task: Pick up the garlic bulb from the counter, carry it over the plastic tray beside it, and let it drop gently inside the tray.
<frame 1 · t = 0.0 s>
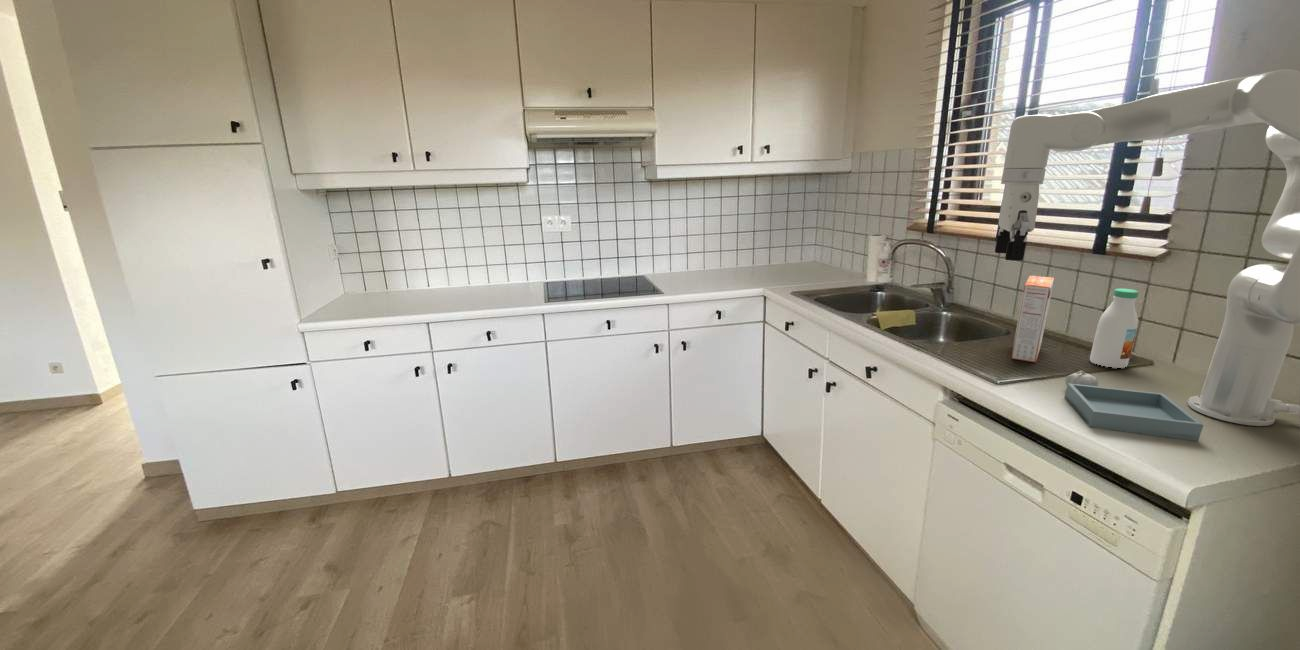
hand: (1008, 256, 118), 31 cm above the countertop, tool pointing down, fingers open, 9 cm apart
milk bottle: (1107, 364, 139), on the countertop
garlic: (1079, 392, 123), on the countertop
cracker box: (1024, 354, 147), on the countertop
tray: (1125, 417, 111), on the countertop
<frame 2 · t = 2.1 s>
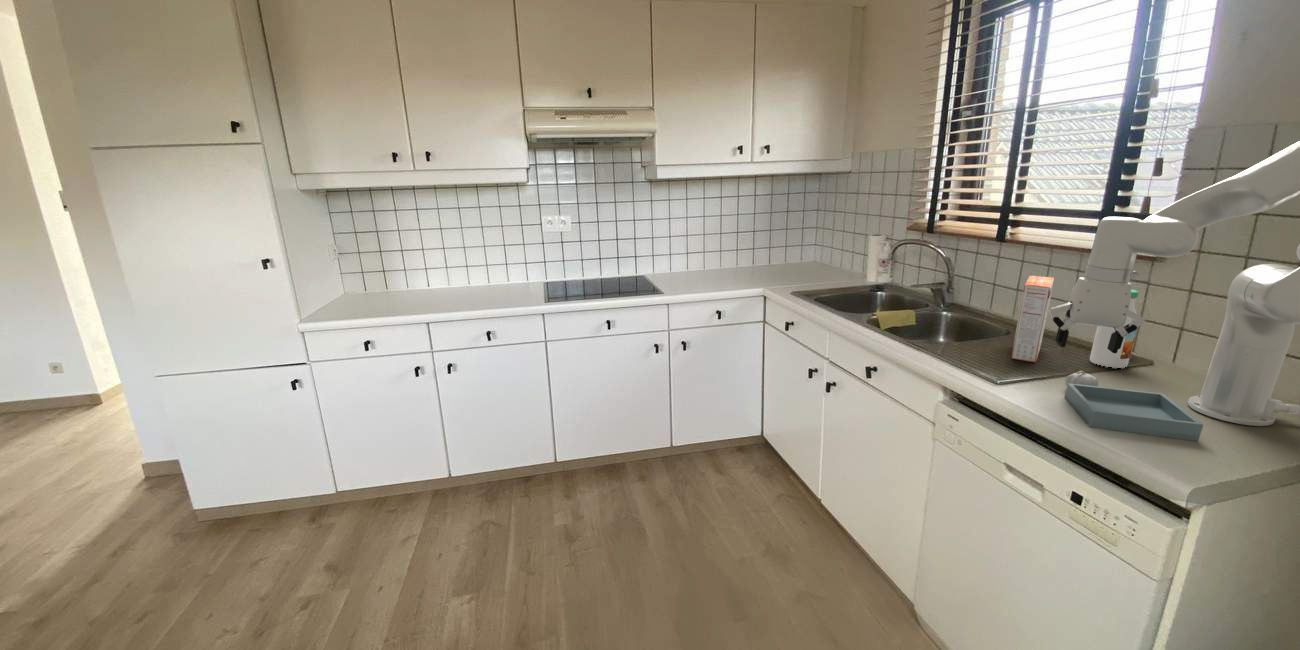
hand: (1085, 348, 121), 11 cm above the countertop, tool pointing down, fingers open, 9 cm apart
nothing on the countertop moved.
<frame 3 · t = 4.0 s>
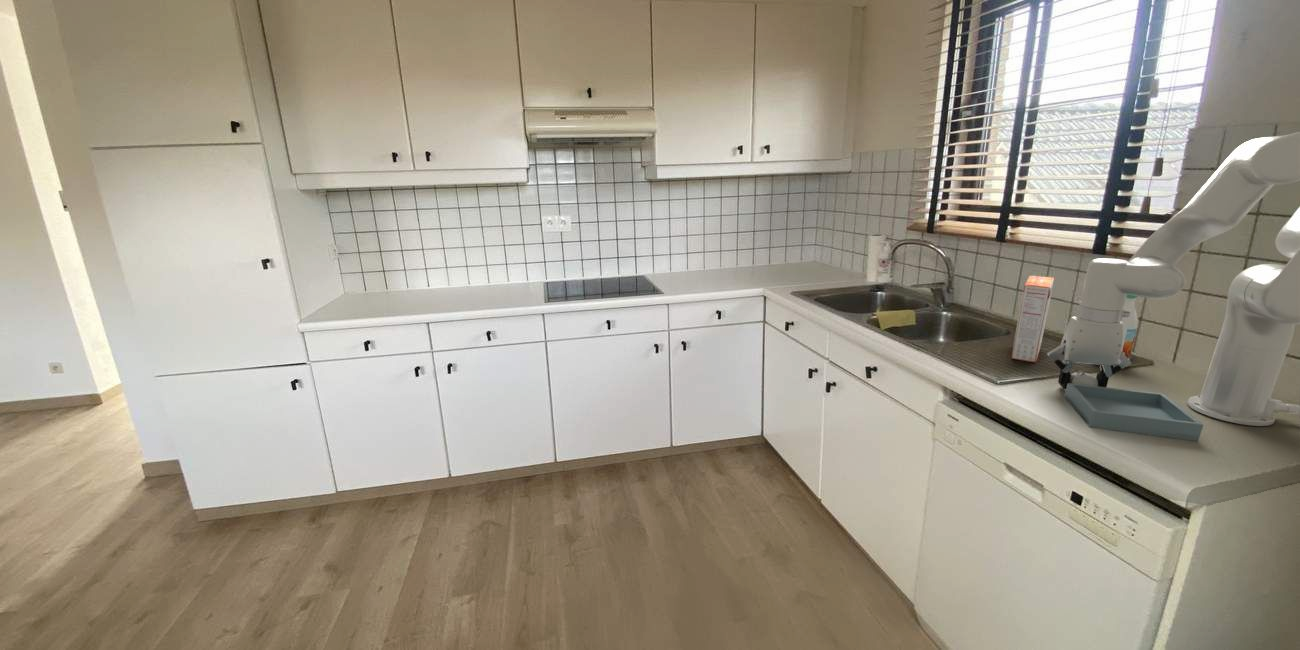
hand: (1080, 388, 123), 1 cm above the countertop, tool pointing down, fingers closed on garlic, 6 cm apart
garlic: (1079, 392, 123), on the countertop, touching gripper
everything else where it was.
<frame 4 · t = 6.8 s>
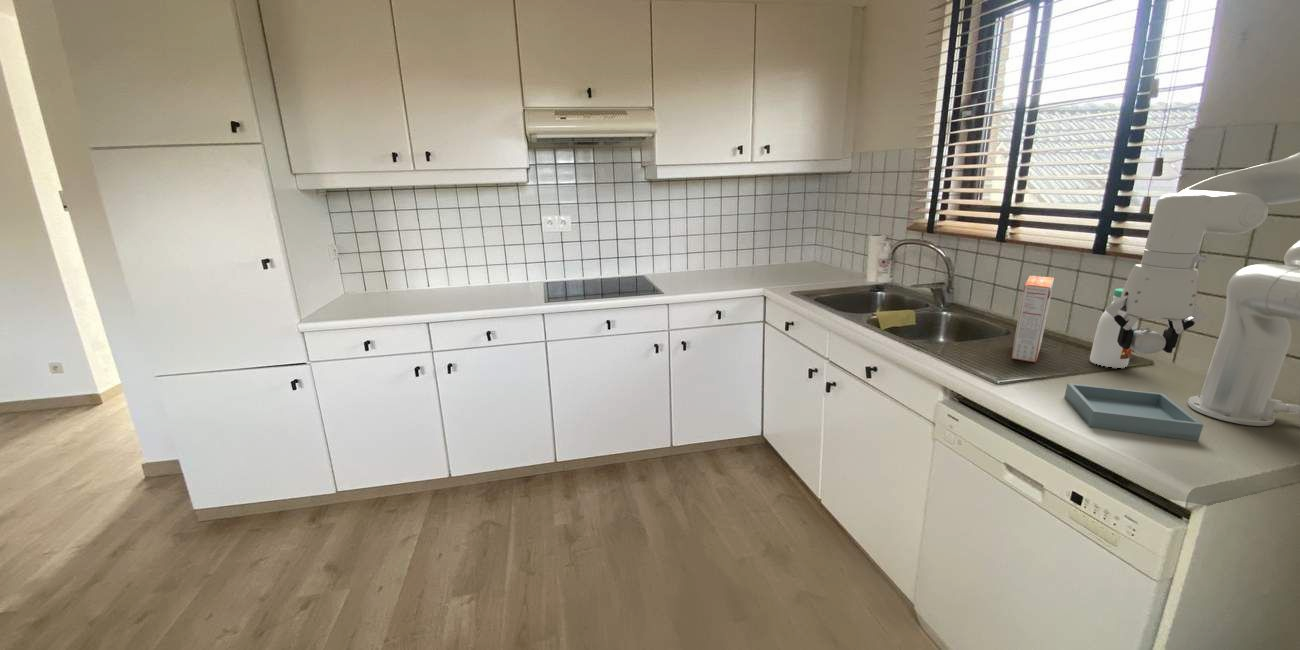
hand: (1144, 348, 106), 15 cm above the countertop, tool pointing down, fingers closed on garlic, 6 cm apart
garlic: (1143, 353, 107), point 14 cm above the countertop, touching gripper
everything else where it was.
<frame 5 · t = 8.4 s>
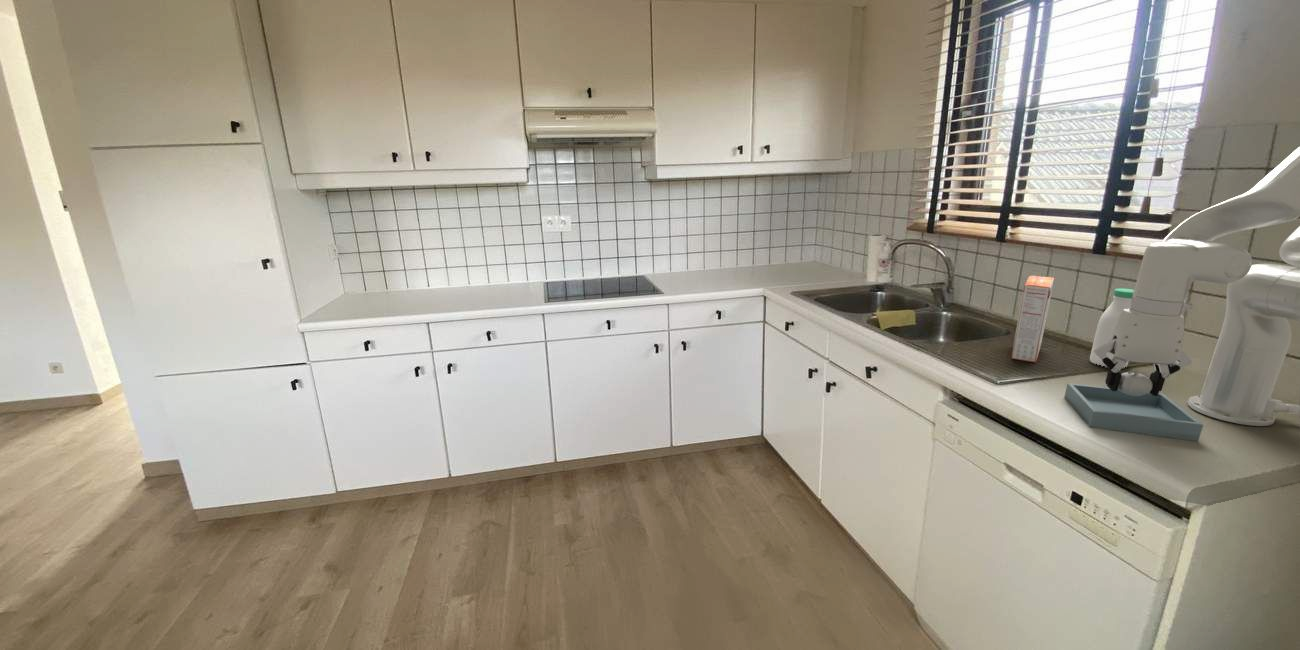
hand: (1131, 390, 109), 6 cm above the countertop, tool pointing down, fingers closed on garlic, 6 cm apart
garlic: (1130, 394, 109), point 5 cm above the countertop, touching gripper
everything else where it was.
when the fingers open (4 cm above the countertop, at t = 9.7 s): garlic drops 2 cm, resting on tray.
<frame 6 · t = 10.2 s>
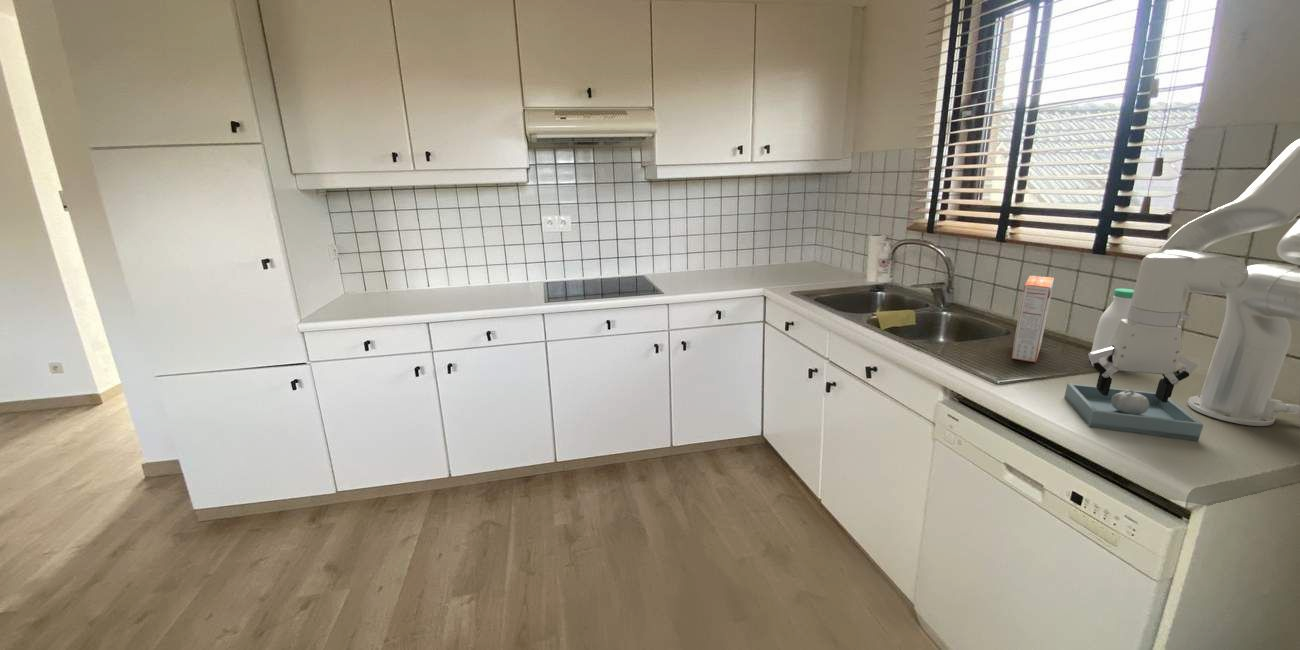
hand: (1131, 396, 109), 5 cm above the countertop, tool pointing down, fingers open, 9 cm apart
garlic: (1127, 413, 111), point 1 cm above the countertop, touching tray
everything else where it was.
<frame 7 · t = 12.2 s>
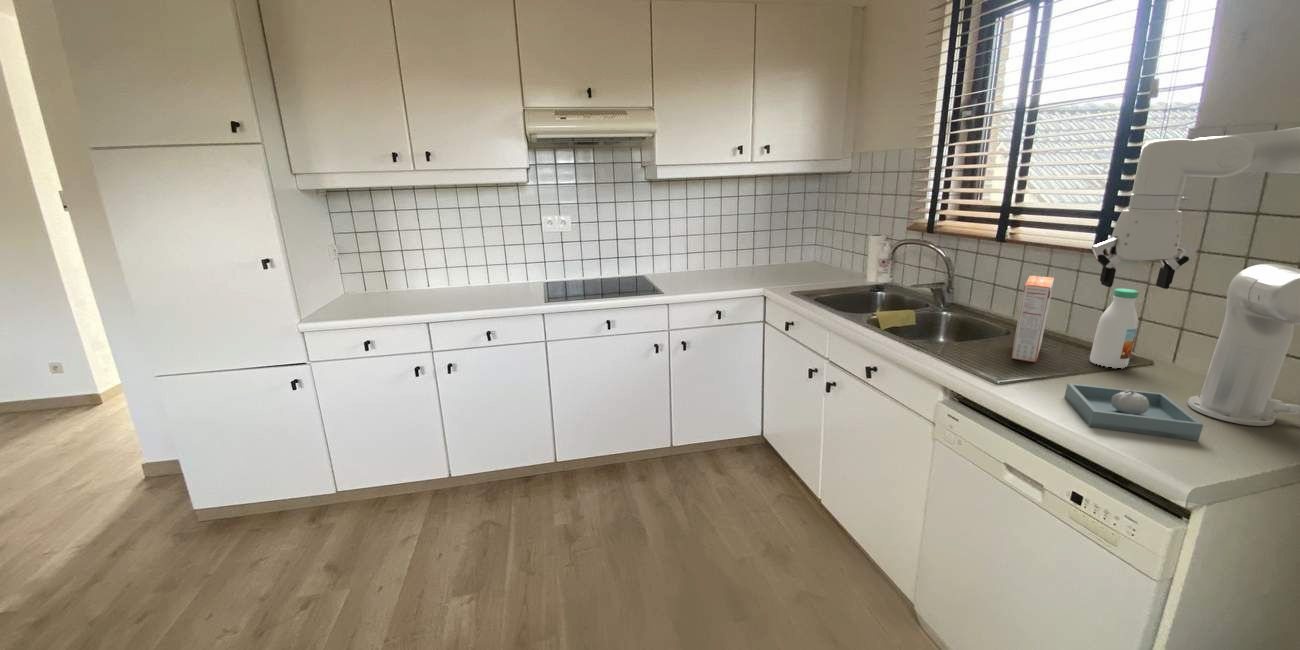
hand: (1133, 286, 112), 26 cm above the countertop, tool pointing down, fingers open, 9 cm apart
nothing on the countertop moved.
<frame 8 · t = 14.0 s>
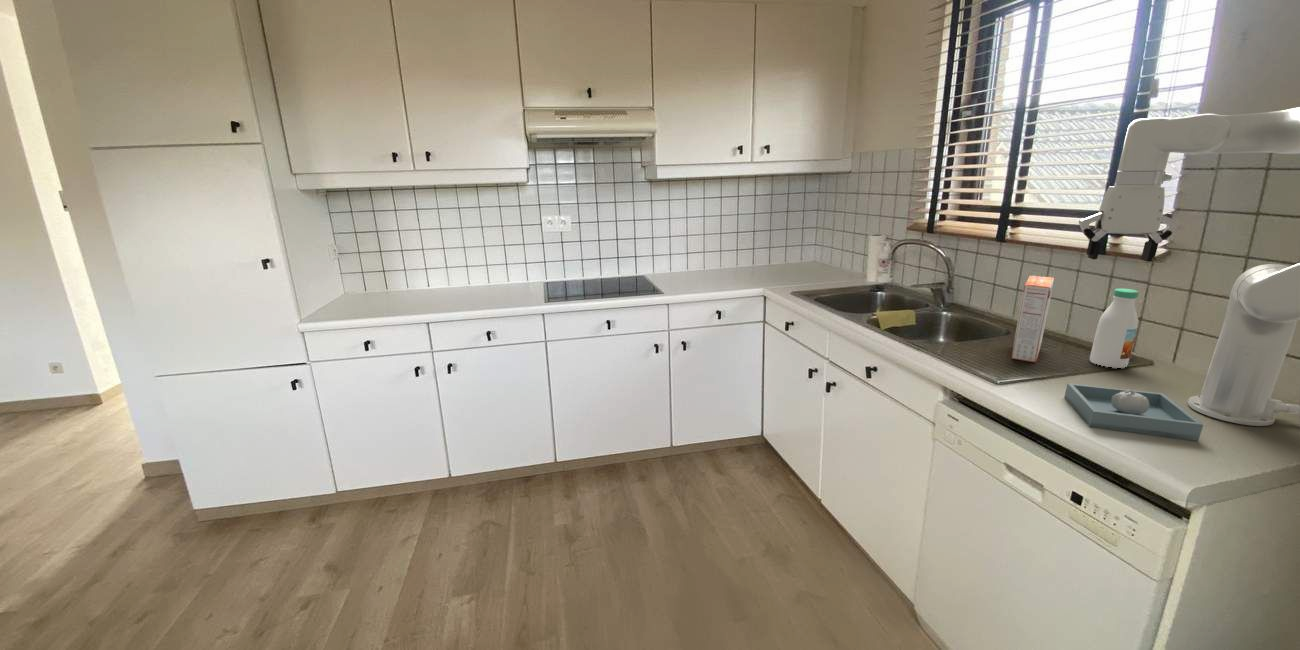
hand: (1118, 259, 118), 30 cm above the countertop, tool pointing down, fingers open, 9 cm apart
nothing on the countertop moved.
at the end: garlic inside the target area on the tray (0.4 cm from its centre), point 0.8 cm above the tray's base; the gripper is holding nothing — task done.
